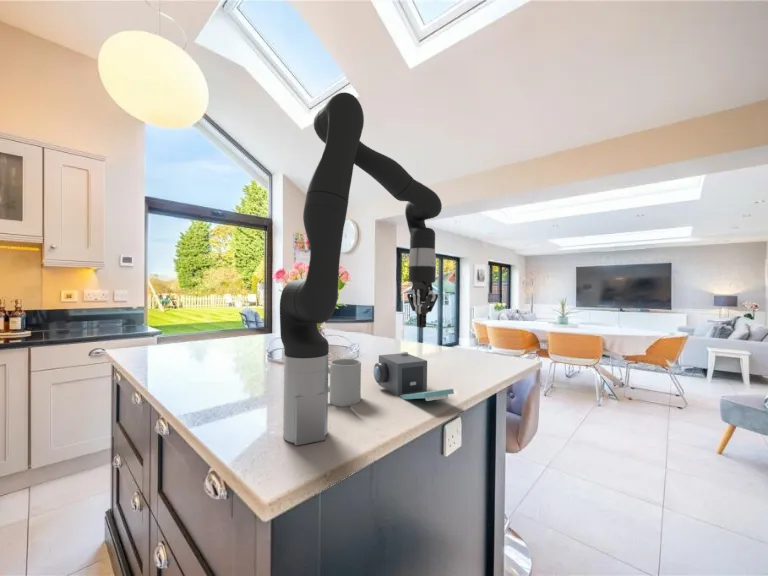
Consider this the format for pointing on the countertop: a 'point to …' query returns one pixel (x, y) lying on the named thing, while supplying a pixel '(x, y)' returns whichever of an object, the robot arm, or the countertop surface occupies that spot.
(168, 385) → the countertop surface
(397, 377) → the camera box
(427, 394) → the side door
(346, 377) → the mug
